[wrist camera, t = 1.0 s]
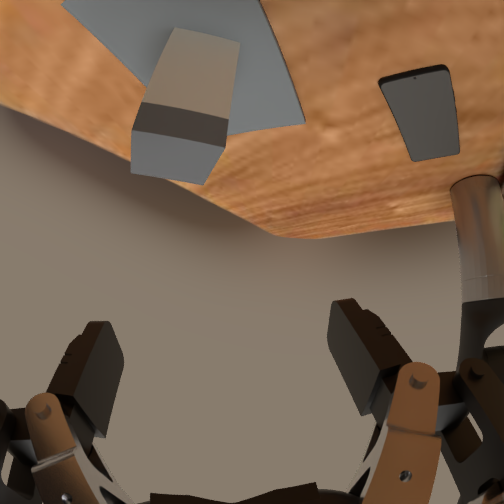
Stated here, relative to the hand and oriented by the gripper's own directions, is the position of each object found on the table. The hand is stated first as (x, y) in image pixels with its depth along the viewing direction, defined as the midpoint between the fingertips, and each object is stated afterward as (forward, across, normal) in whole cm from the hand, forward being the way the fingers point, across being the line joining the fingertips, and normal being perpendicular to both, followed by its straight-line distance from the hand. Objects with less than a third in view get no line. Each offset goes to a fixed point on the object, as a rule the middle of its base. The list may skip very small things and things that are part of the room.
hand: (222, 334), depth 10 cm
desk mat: (+15, -1, +14) cm, 20 cm away
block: (+15, -1, +13) cm, 20 cm away
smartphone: (+16, +21, +9) cm, 28 cm away
